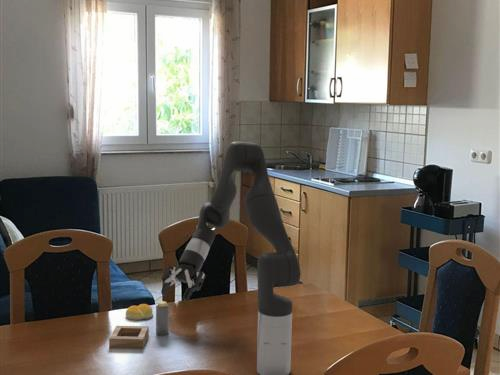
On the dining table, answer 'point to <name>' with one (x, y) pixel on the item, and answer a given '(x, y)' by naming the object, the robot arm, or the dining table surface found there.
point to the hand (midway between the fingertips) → (173, 297)
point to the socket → (129, 337)
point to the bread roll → (139, 312)
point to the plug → (162, 319)
